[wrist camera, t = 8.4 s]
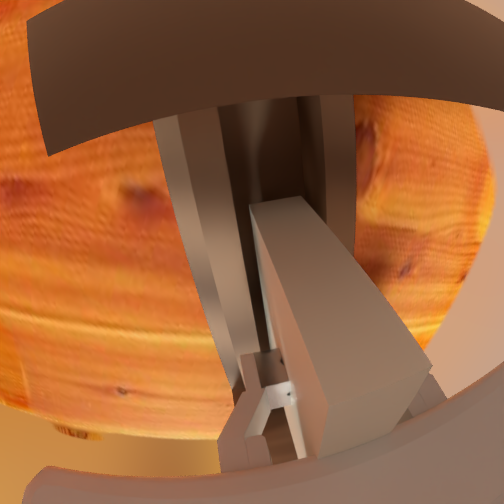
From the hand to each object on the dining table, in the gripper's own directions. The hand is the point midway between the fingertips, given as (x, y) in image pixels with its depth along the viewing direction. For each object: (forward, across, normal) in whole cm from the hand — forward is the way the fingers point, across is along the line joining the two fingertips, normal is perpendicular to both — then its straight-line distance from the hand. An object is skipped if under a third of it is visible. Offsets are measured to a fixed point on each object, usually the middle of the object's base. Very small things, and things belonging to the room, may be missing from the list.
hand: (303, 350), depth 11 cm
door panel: (+3, 0, 0) cm, 3 cm away
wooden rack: (+6, 0, 0) cm, 6 cm away
